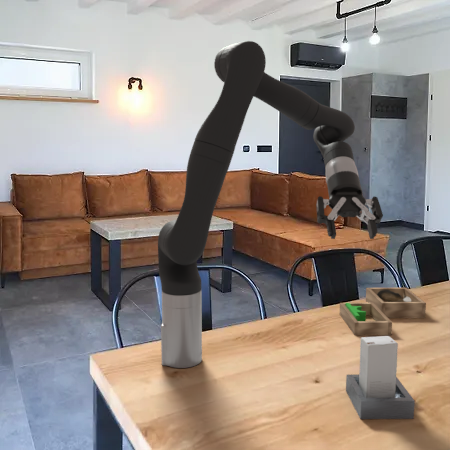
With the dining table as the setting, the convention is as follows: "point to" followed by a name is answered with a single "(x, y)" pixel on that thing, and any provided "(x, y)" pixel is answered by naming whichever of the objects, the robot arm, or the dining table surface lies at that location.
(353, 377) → the keeper tray
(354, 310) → the green notched block
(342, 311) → the tray
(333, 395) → the dining table surface
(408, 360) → the dining table surface
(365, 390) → the skincare box
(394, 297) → the eagle figurine
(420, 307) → the figurine corral
